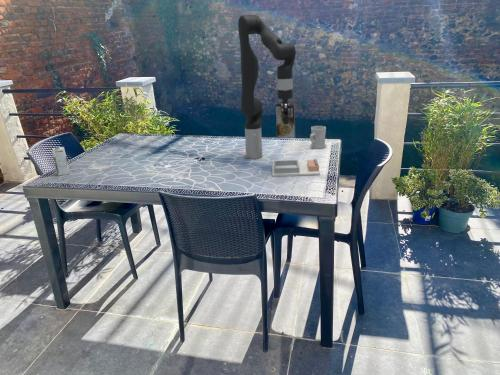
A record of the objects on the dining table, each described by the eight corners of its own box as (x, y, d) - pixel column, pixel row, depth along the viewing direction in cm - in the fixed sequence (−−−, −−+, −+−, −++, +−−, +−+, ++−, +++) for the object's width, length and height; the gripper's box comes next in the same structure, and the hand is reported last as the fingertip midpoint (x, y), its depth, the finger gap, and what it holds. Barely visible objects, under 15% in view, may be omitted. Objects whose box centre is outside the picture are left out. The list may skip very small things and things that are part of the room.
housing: (272, 176, 199) (272, 170, 198) (272, 165, 214) (272, 159, 213) (320, 175, 198) (320, 168, 196) (316, 164, 212) (316, 158, 211)
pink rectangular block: (308, 171, 200) (308, 165, 199) (307, 164, 210) (307, 158, 208) (318, 170, 200) (319, 164, 199) (316, 164, 209) (316, 158, 208)
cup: (325, 150, 235) (325, 130, 231) (309, 149, 237) (309, 130, 232) (325, 144, 245) (326, 125, 240) (310, 144, 246) (311, 125, 242)
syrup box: (58, 172, 222) (52, 147, 216) (69, 171, 224) (63, 146, 218) (57, 176, 217) (51, 150, 211) (69, 174, 219) (63, 149, 213)
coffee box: (295, 134, 202) (294, 102, 196) (295, 138, 196) (294, 105, 190) (276, 135, 203) (276, 103, 197) (276, 138, 197) (275, 105, 191)
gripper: (276, 86, 197) (277, 119, 203) (277, 90, 184) (278, 126, 190) (292, 85, 197) (292, 118, 203) (293, 90, 183) (294, 125, 190)
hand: (285, 122), depth 196 cm, fingers closed on coffee box, 6 cm apart
